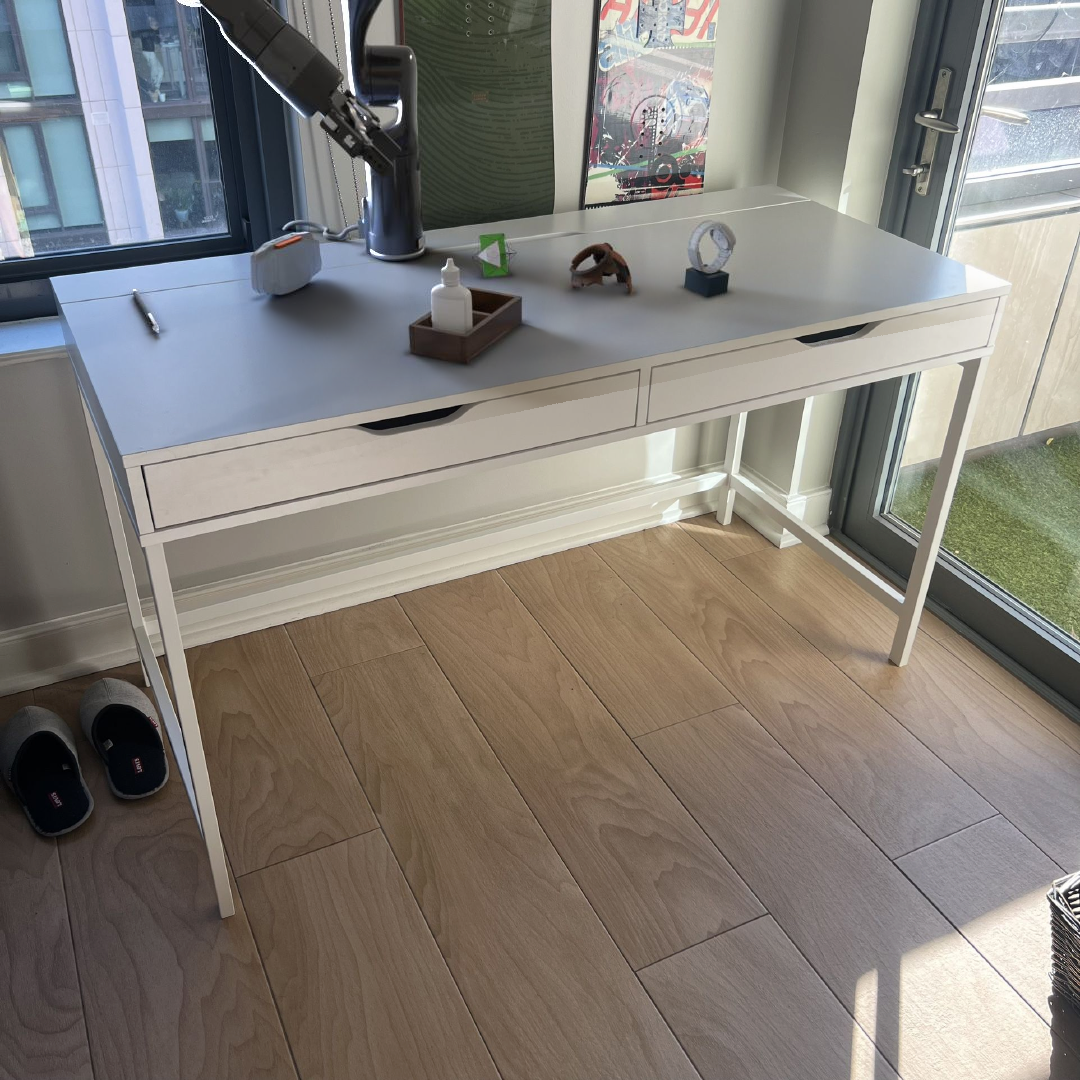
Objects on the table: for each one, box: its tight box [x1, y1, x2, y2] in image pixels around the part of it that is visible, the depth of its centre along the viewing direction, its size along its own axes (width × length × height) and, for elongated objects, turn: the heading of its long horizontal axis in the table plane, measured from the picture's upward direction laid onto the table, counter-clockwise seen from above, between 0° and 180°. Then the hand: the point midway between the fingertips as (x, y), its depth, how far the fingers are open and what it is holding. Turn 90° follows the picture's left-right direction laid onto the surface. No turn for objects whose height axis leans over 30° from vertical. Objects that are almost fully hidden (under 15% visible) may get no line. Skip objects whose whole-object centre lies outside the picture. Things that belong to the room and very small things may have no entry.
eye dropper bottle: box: [430, 257, 472, 334], centre depth 147 cm, size 4×6×12 cm
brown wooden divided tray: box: [408, 286, 523, 365], centre depth 153 cm, size 9×17×4 cm, turn 155°
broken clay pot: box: [568, 242, 634, 295], centre depth 171 cm, size 12×10×8 cm
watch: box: [683, 219, 737, 298], centre depth 169 cm, size 6×8×11 cm
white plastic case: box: [250, 231, 323, 296], centre depth 168 cm, size 14×3×8 cm, turn 150°
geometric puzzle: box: [470, 232, 518, 278], centre depth 175 cm, size 7×7×8 cm
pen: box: [132, 289, 160, 334], centre depth 160 cm, size 1×19×1 cm, turn 28°
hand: (393, 163), depth 143 cm, fingers open, 8 cm apart
